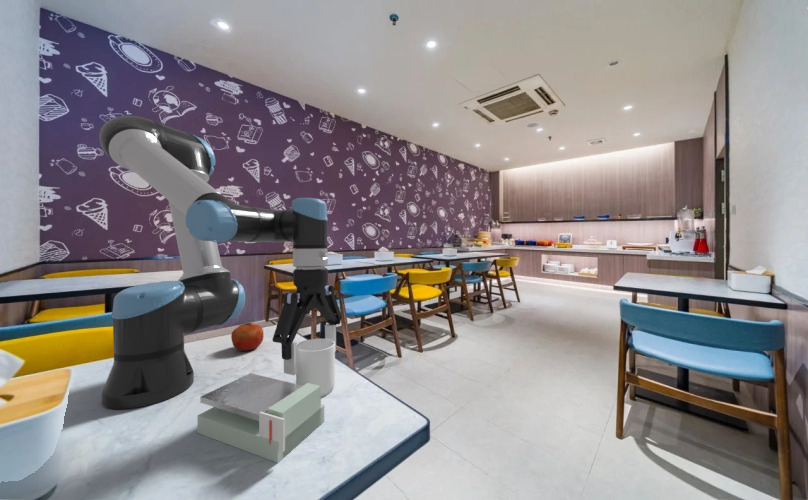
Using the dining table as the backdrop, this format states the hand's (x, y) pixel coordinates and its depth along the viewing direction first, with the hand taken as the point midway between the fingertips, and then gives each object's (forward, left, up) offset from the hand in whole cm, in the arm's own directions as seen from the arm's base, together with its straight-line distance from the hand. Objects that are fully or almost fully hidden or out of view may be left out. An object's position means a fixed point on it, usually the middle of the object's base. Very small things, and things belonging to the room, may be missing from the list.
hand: (312, 361), depth 66 cm
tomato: (-34, +12, -6) cm, 37 cm away
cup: (0, 0, -6) cm, 6 cm away
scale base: (+2, -15, -6) cm, 16 cm away
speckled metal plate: (0, -15, -3) cm, 15 cm away
